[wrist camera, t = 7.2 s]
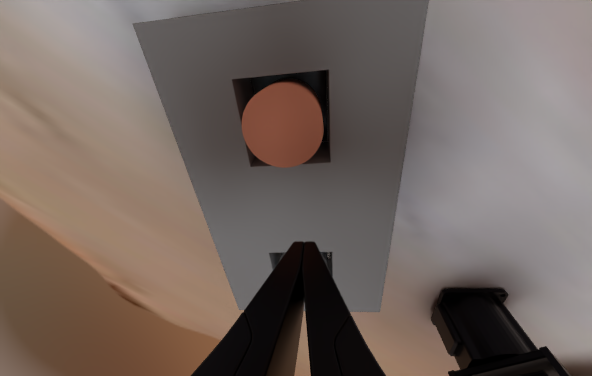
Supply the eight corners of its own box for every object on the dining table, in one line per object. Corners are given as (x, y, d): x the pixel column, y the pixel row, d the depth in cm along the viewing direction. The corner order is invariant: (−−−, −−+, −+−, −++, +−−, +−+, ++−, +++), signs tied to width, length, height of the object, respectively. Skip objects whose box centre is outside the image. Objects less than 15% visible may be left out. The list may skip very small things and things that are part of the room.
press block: (401, 1, 13) (431, -18, 10) (371, 276, 25) (379, 311, 22) (175, 31, 15) (132, 23, 11) (249, 276, 27) (239, 309, 23)
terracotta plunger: (320, 75, 14) (322, 81, 11) (322, 142, 16) (324, 165, 13) (252, 81, 15) (233, 89, 11) (263, 146, 17) (250, 169, 13)
